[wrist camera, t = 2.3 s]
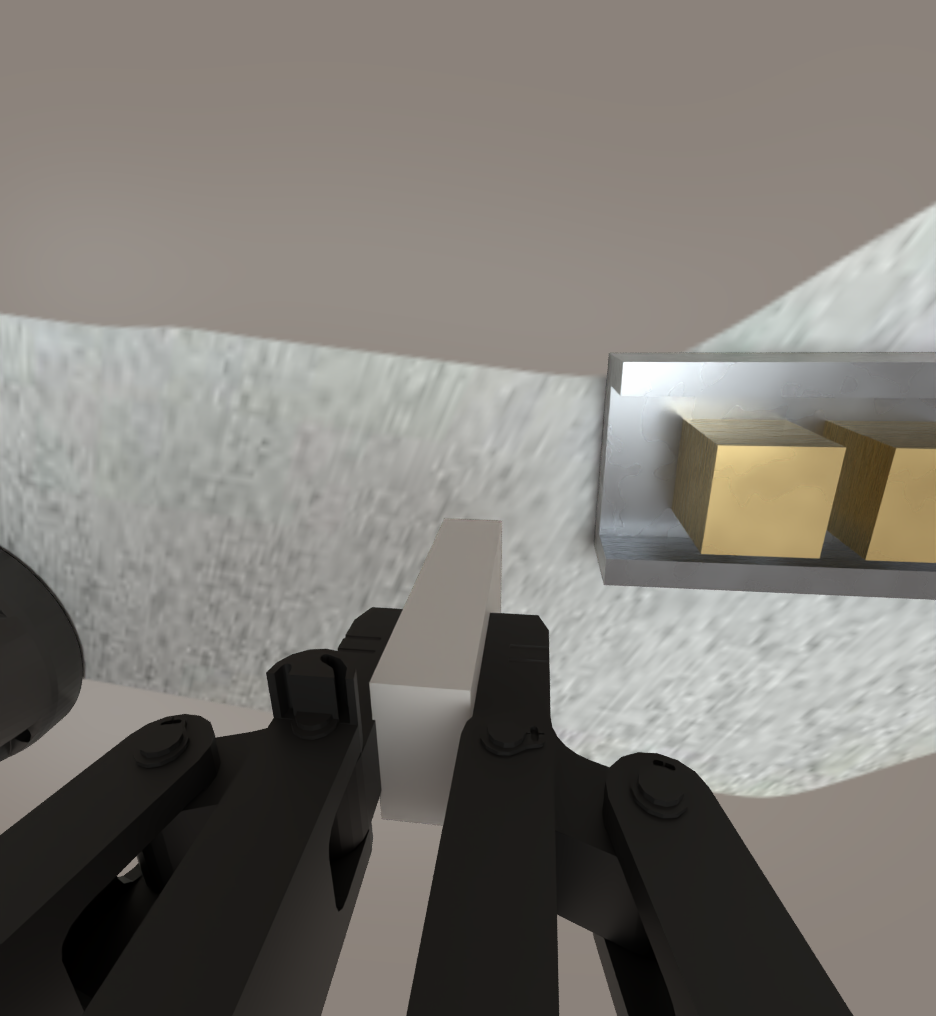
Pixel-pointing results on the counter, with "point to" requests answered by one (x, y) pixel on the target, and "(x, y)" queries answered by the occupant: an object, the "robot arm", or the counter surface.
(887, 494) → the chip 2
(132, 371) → the counter surface
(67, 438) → the counter surface
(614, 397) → the slot rail
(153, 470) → the counter surface
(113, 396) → the counter surface
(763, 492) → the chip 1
